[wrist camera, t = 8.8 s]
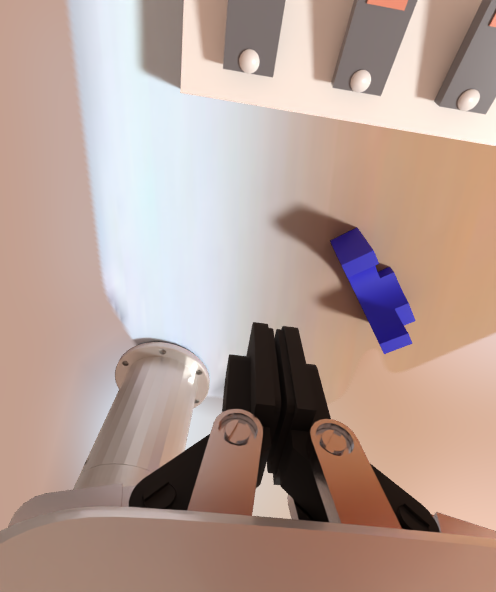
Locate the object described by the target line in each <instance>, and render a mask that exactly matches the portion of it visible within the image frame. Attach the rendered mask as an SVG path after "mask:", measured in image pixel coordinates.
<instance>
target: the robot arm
mask: <svg viewBox="0 0 496 592" xmlns="http://www.w3.org/2000/svg"><path fill="white" fill-rule="evenodd" d="M115 380H116V383H117V386H118V388H119V391H118V394H117V396H116V398H115V400H114V402H113V404H112V407H111V409H110V411H109V413H108V415H107V417H106V419H105V422H104V424H103V426H102V428H101V430H100V432H99V434H98V437H97V439H96V441H95V443H94V445H93V448H92V450H91V452H90V454H89V456H88V458H87V460H86V462H85V465H84V467H83V469H82V471H81V474H80V476H79V478H78V480H77V482H76V484H75V486H74V489H73V490H67V491H59V492H52V493H45V494H42V495H39V496H35V497H34V498H32V499H30V500H29V501H27V502H25V503H24V504H23V505H22V506H21V507H20V508H19V509H18V510H17V511H16V512H15V514H14V516H13V518H12V519H11V521H10V523H9V526H8V528H6V529H4V530H1V531H0V592H496V531H494V530H491V529H488V528H485V527H481V526H478V525H475V524H472V523H469V522H466V521H463V520H460V519H456V518H454V517H450V516H447V515H444V514H441V513H438V512H436V513H435V515H431V514H430V512H429V511H428V510H427V509H426V508H425V507H424V506H423V505H421V504H420V503H419V502H418V501H417V500H415V499H414V498H413V497H412V496H410V495H409V494H408V493H406V492H405V491H404V490H403V489H402V488H400V487H399V486H398V485H396V484H395V483H394V482H393V481H391V480H390V479H389V478H388V477H386V476H385V475H384V474H383V473H381V472H380V471H379V470H377V469H376V468H375V467H374V466H373V465H371V464H370V463H369V461H368V459H367V457H366V455H365V453H364V451H363V449H362V447H361V445H360V443H359V441H358V439H357V437H356V436H355V434H354V432H353V431H351V429H349V428H348V427H347V426H346V425H344V424H343V423H341V422H339V421H336V420H332V419H331V418H330V414H329V410H328V407H327V403H326V399H325V395H324V392H323V388H322V384H321V380H320V377H319V373H318V369H317V367H316V365H312V364H306V361H305V356H304V352H303V348H302V343H301V339H300V335H299V330H298V328H294V327H286V326H283V327H282V329H281V330H280V329H277V330H276V334H275V338H274V331H273V329H272V328H268V324H263V323H256V322H253V325H252V330H251V335H250V340H249V346H248V351H247V356H238V355H230V354H229V359H228V365H227V371H226V378H225V386H224V396H223V409H222V413H221V414H220V415H219V416H217V417H216V419H215V421H214V423H213V427H212V430H211V433H210V434H209V435H208V436H206V437H205V438H203V439H202V440H200V441H199V442H197V443H196V444H194V445H193V446H191V447H190V448H188V449H187V450H185V445H186V441H187V436H188V431H189V426H190V421H191V416H192V411H193V408H195V407H196V406H198V405H200V404H201V402H202V401H203V400H204V399H205V397H206V396H207V394H208V390H209V383H210V379H209V373H208V371H207V368H206V367H205V365H204V364H203V362H202V361H201V360H200V359H199V358H198V357H197V356H196V355H194V354H193V353H191V352H190V351H188V350H186V349H184V348H182V347H180V346H177V345H174V344H170V343H163V342H150V343H143V344H140V345H137V346H135V347H133V348H131V349H129V350H128V351H127V352H126V353H124V354H123V356H122V357H121V359H120V360H119V362H118V364H117V367H116V370H115ZM266 462H267V470H268V473H273V478H274V479H273V480H274V485H281V487H282V488H283V489H284V490H285V491H286V492H287V493H288V506H289V510H290V514H291V518H292V519H283V518H271V517H259V516H252V512H253V505H254V497H255V490H256V488H257V487H258V486H259V485H260V483H261V480H262V476H263V472H264V469H265V466H266Z"/></svg>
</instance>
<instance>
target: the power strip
mask: <svg viewBox="0 0 496 592" xmlns="http://www.w3.org/2000/svg"><path fill="white" fill-rule="evenodd" d="M353 2H354V0H286V1H285V7H284V13H283V19H282V25H281V31H280V38H279V44H278V50H277V56H276V62H275V69H274V75H273V77H267V76H261V75H256V74H248V73H244V72H238V71H233V70H227V69H223V60H224V46H225V32H226V19H227V5H228V0H184V7H183V35H182V63H181V91H180V93H185V94H191V95H197V96H203V97H209V98H215V99H220V100H226V101H232V102H238V103H244V104H250V105H256V106H262V107H268V108H274V109H280V110H286V111H292V112H298V113H303V114H309V115H315V116H321V117H327V118H333V119H339V120H345V121H351V122H357V123H363V124H369V125H375V126H380V127H386V128H392V129H398V130H404V131H410V132H416V133H422V134H428V135H434V136H440V137H446V138H452V139H458V140H463V141H469V142H475V143H481V144H487V145H493V146H496V98H495V100H494V101H493V103H492V105H491V106H490V108H489V110H488V111H487V113H486V114H480V113H474V112H469V111H462V110H457V109H451V108H446V107H440V106H438V105H437V104H436V103H435V102H434V100H435V98H436V96H437V94H438V92H439V89H440V87H441V85H442V83H443V81H444V79H445V77H446V75H447V73H448V71H449V69H450V67H451V64H452V62H453V60H454V58H455V56H456V54H457V52H458V50H459V48H460V46H461V44H462V42H463V39H464V37H465V35H466V33H467V31H468V29H469V27H470V25H471V23H472V21H473V19H474V17H475V14H476V12H477V10H478V8H479V6H480V4H481V2H482V0H418V1H417V3H416V6H415V8H414V11H413V14H412V16H411V19H410V21H409V24H408V27H407V29H406V32H405V35H404V37H403V40H402V42H401V45H400V48H399V50H398V53H397V55H396V58H395V61H394V63H393V66H392V68H391V71H390V74H389V76H388V79H387V81H386V84H385V87H384V89H383V92H382V94H381V96H377V95H371V94H365V93H357V92H354V91H348V90H342V89H337V88H333V87H332V84H331V81H332V78H333V74H334V70H335V67H336V63H337V60H338V56H339V52H340V49H341V45H342V42H343V38H344V34H345V31H346V27H347V24H348V20H349V16H350V13H351V9H352V6H353Z"/></svg>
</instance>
